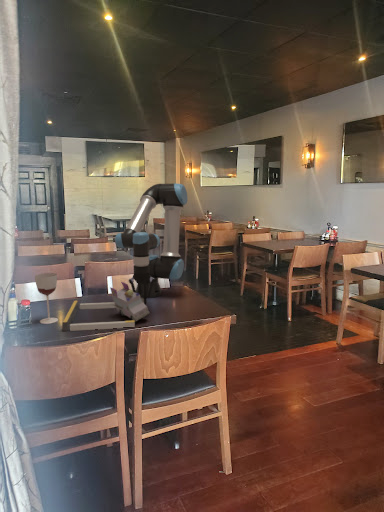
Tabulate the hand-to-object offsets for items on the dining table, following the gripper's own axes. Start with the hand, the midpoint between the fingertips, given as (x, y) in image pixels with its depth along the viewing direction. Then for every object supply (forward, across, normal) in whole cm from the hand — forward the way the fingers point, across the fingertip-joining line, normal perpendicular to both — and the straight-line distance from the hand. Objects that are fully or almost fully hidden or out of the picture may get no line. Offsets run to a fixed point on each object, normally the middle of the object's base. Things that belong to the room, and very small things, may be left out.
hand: (142, 311), depth 185 cm
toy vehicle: (+1, +4, +2) cm, 5 cm away
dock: (+2, +19, 0) cm, 19 cm away
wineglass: (+2, +44, +1) cm, 44 cm away
